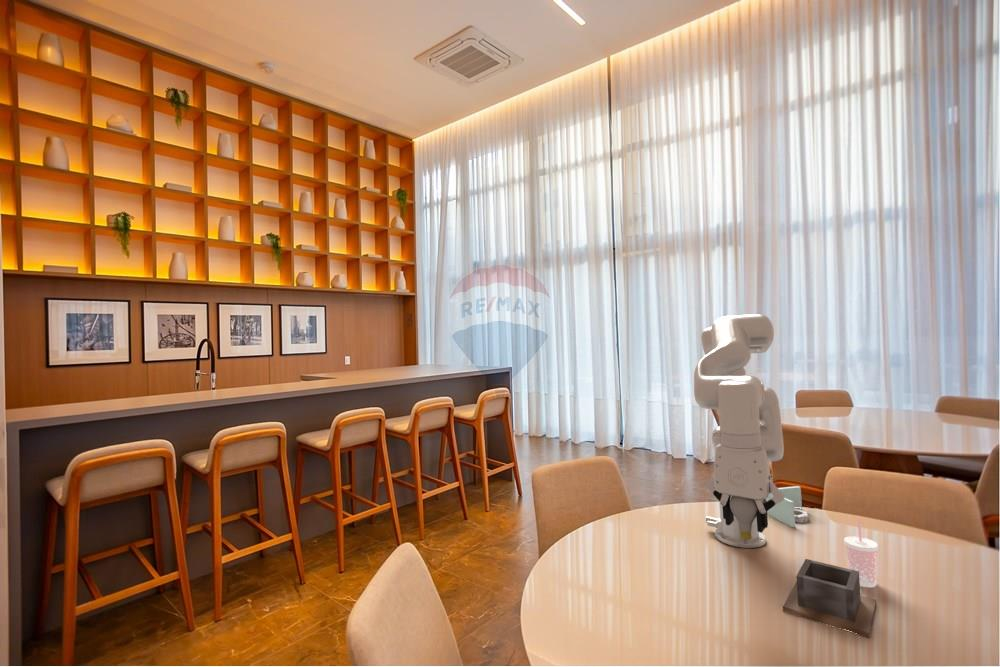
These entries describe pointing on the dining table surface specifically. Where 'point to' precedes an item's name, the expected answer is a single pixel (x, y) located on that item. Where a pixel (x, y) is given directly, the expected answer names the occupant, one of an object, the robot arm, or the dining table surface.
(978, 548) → the dining table surface
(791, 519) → the l-shaped corner panel
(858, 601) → the socket block
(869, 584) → the beverage cup
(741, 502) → the light bulb
